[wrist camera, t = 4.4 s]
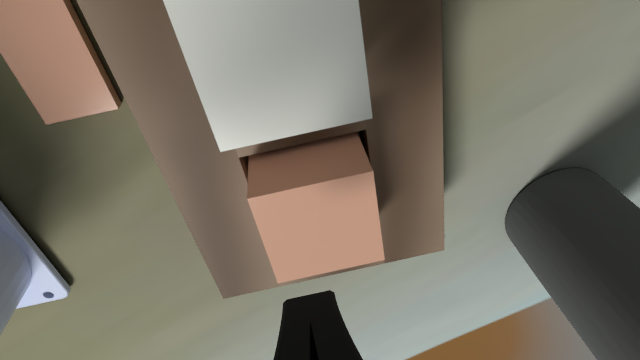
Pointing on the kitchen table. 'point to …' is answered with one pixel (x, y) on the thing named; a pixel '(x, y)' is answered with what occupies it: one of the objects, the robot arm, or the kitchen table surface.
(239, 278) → the brown wooden tray
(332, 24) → the white cube
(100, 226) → the kitchen table surface
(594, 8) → the kitchen table surface
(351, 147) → the salmon cube
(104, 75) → the tile
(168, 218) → the kitchen table surface
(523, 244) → the bottle
